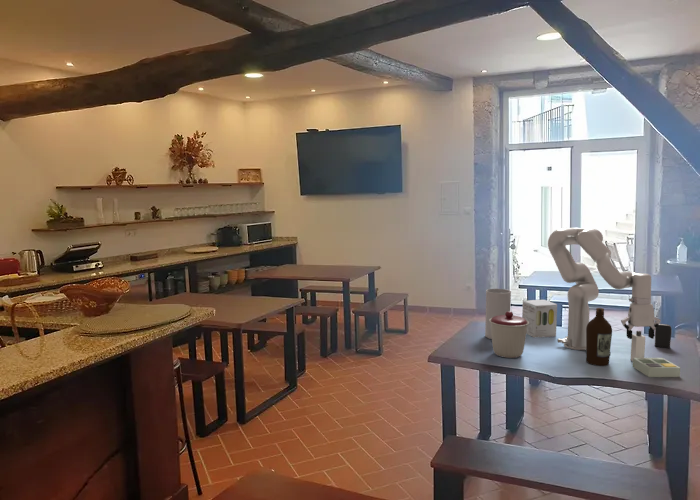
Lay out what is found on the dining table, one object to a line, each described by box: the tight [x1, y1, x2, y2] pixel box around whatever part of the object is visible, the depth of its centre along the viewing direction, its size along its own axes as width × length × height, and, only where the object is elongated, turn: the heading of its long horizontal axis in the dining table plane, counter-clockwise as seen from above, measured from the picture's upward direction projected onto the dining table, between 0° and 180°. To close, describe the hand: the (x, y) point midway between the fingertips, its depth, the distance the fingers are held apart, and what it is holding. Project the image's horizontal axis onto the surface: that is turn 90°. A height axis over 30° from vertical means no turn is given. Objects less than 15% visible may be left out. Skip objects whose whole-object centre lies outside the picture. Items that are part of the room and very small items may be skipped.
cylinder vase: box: [484, 288, 512, 340], centre depth 283 cm, size 12×12×25 cm
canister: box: [489, 310, 529, 359], centre depth 253 cm, size 18×18×21 cm
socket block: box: [632, 357, 681, 378], centre depth 230 cm, size 13×13×4 cm
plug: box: [630, 330, 646, 362], centre depth 244 cm, size 4×4×14 cm
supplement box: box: [521, 299, 558, 339], centre depth 289 cm, size 13×13×18 cm
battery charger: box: [654, 323, 673, 349], centre depth 266 cm, size 7×4×11 cm, turn 62°
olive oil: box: [585, 307, 613, 367], centre depth 241 cm, size 11×11×25 cm
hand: (640, 338), depth 243 cm, fingers open, 9 cm apart
